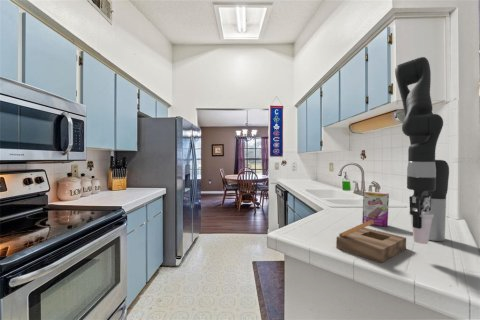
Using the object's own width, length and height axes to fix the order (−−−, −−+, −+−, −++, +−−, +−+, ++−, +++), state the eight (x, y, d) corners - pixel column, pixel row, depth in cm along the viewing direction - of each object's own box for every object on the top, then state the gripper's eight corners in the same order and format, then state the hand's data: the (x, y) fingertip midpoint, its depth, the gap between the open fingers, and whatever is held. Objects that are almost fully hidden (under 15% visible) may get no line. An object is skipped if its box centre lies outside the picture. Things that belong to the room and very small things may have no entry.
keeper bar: (344, 235, 87) (342, 232, 87) (374, 223, 78) (372, 219, 79) (340, 237, 85) (338, 234, 85) (370, 224, 77) (368, 220, 77)
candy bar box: (362, 223, 119) (363, 191, 119) (363, 221, 123) (363, 190, 123) (388, 227, 113) (388, 193, 113) (388, 225, 117) (388, 192, 117)
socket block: (364, 237, 98) (364, 227, 98) (406, 248, 86) (406, 237, 86) (336, 247, 85) (336, 236, 85) (380, 263, 73) (381, 250, 73)
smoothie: (403, 238, 79) (404, 197, 79) (421, 238, 80) (421, 197, 80) (420, 245, 73) (421, 201, 73) (438, 245, 74) (439, 201, 74)
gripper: (414, 173, 84) (413, 220, 84) (399, 175, 75) (399, 227, 75) (441, 175, 78) (440, 224, 78) (429, 177, 69) (428, 233, 69)
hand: (420, 225), depth 77 cm, fingers closed on smoothie, 6 cm apart
